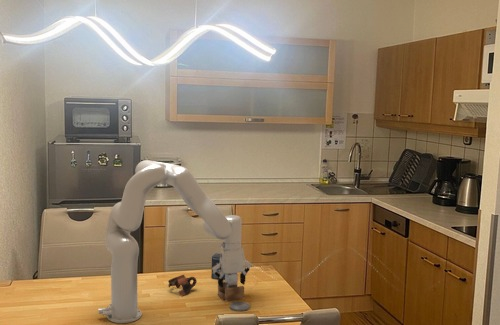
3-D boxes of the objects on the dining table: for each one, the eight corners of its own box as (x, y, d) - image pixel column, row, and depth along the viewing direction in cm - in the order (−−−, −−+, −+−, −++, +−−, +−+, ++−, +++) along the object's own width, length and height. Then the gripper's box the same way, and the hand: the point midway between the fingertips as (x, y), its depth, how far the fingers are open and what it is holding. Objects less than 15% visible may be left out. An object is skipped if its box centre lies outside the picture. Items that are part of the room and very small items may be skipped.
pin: (228, 298, 216) (229, 272, 215) (224, 294, 221) (224, 269, 219) (237, 297, 218) (238, 271, 217) (233, 293, 222) (233, 267, 221)
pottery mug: (174, 299, 216) (167, 279, 218) (171, 300, 225) (165, 282, 226) (201, 288, 220) (194, 269, 222) (197, 290, 229) (190, 272, 231)
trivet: (234, 312, 203) (234, 310, 203) (226, 304, 210) (226, 302, 210) (252, 309, 206) (253, 307, 206) (244, 302, 213) (245, 300, 213)
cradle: (224, 301, 213) (224, 289, 213) (216, 293, 222) (216, 282, 221) (245, 298, 217) (245, 286, 216) (237, 290, 225) (237, 279, 225)
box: (211, 278, 239) (211, 256, 238) (215, 274, 245) (215, 252, 243) (227, 280, 237) (227, 258, 236) (231, 276, 242) (231, 254, 241)
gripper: (215, 250, 210) (215, 291, 212) (254, 245, 217) (254, 285, 219) (209, 245, 216) (209, 284, 219) (247, 240, 223) (247, 279, 226)
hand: (231, 285), depth 219 cm, fingers open, 9 cm apart
